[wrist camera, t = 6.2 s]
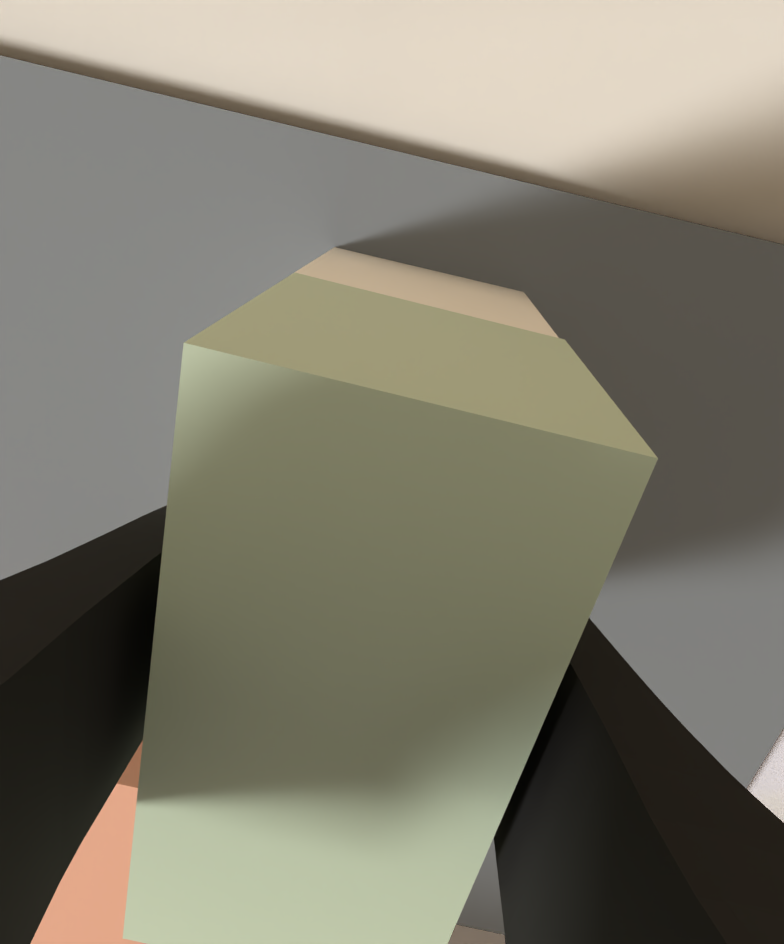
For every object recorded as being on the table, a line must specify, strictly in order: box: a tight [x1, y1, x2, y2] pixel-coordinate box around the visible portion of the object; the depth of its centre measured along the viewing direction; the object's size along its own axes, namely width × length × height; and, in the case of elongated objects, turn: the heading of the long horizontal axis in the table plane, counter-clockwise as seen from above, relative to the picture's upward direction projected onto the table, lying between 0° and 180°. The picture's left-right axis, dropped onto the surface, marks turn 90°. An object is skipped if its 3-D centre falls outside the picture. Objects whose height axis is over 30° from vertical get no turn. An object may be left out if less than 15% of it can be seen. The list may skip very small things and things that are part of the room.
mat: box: [0, 55, 784, 935], centre depth 18 cm, size 22×24×1 cm
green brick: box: [123, 273, 658, 944], centre depth 9 cm, size 8×4×4 cm, turn 167°
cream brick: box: [294, 247, 559, 338], centre depth 13 cm, size 8×4×4 cm, turn 168°
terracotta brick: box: [31, 740, 146, 944], centre depth 18 cm, size 8×4×4 cm, turn 168°
